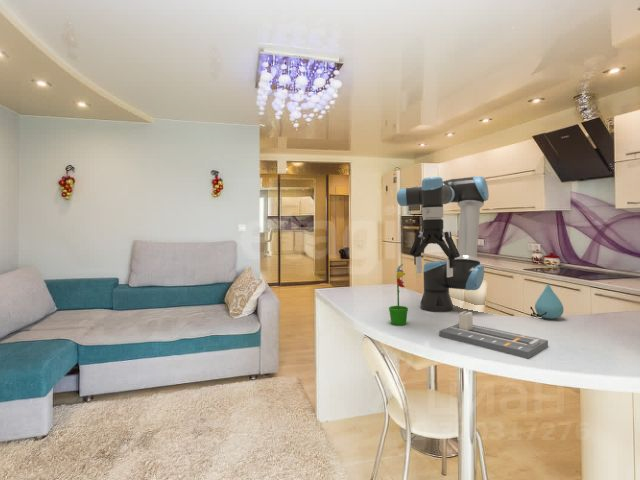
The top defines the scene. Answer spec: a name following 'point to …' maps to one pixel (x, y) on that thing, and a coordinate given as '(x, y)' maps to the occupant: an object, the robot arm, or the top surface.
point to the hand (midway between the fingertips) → (433, 275)
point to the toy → (548, 305)
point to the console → (496, 340)
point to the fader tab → (466, 320)
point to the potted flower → (398, 312)
